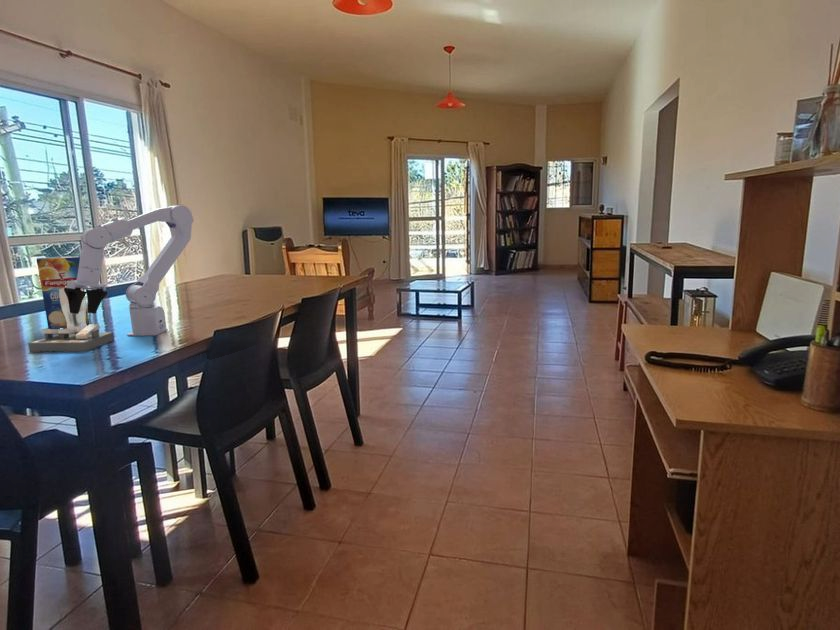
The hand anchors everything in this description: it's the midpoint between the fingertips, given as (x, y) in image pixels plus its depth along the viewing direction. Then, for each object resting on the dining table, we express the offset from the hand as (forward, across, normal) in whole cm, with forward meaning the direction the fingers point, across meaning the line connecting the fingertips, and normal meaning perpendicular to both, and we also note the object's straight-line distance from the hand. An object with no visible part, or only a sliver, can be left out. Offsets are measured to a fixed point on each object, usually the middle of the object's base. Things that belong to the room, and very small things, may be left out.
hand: (83, 313), depth 154 cm
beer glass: (+9, -15, -11) cm, 21 cm away
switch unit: (+10, +1, 0) cm, 10 cm away
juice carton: (+9, -26, -22) cm, 35 cm away
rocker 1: (+6, +2, -6) cm, 9 cm away
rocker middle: (+6, +2, -1) cm, 6 cm away
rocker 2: (+5, +2, +4) cm, 6 cm away
